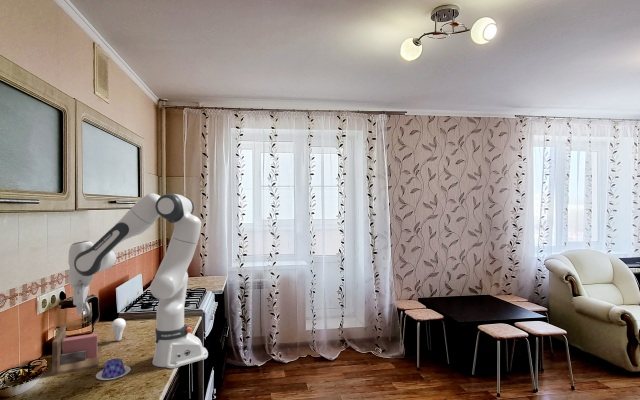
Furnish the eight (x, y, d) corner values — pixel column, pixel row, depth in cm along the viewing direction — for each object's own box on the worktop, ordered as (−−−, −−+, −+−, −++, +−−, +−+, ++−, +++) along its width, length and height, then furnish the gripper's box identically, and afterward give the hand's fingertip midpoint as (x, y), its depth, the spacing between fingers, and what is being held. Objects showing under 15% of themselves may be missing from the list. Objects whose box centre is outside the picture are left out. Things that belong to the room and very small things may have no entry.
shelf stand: (101, 348, 165) (101, 320, 165) (98, 366, 146) (98, 335, 146) (59, 355, 157) (59, 326, 157) (50, 376, 138) (50, 342, 138)
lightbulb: (109, 343, 170) (109, 321, 170) (113, 339, 176) (113, 317, 176) (123, 342, 171) (123, 319, 172) (127, 338, 177) (127, 316, 177)
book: (97, 353, 156) (97, 333, 157) (96, 356, 153) (96, 336, 153) (64, 359, 151) (64, 338, 151) (62, 362, 147) (63, 341, 147)
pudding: (92, 384, 132) (92, 370, 132) (99, 370, 143) (99, 357, 143) (128, 378, 136) (128, 364, 137) (132, 365, 148) (132, 352, 148)
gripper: (87, 282, 145) (87, 315, 145) (91, 274, 163) (91, 303, 162) (68, 284, 142) (68, 318, 142) (75, 275, 160) (75, 306, 159)
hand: (81, 310), depth 152 cm, fingers open, 8 cm apart
